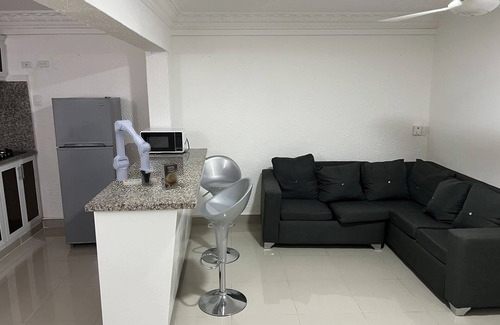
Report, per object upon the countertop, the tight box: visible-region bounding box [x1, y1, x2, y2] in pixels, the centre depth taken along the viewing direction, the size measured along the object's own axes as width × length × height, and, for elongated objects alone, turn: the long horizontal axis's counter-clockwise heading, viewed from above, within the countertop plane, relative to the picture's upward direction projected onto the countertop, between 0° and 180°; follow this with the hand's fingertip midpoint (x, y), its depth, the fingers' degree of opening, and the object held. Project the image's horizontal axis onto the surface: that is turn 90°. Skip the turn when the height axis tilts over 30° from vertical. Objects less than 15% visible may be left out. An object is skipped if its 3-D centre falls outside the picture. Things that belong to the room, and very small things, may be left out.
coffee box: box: [160, 162, 179, 191], centre depth 248 cm, size 9×6×16 cm
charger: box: [140, 173, 152, 187], centre depth 252 cm, size 5×5×7 cm
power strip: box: [122, 177, 158, 186], centre depth 260 cm, size 9×22×3 cm, turn 112°
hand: (146, 181), depth 252 cm, fingers closed on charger, 6 cm apart
